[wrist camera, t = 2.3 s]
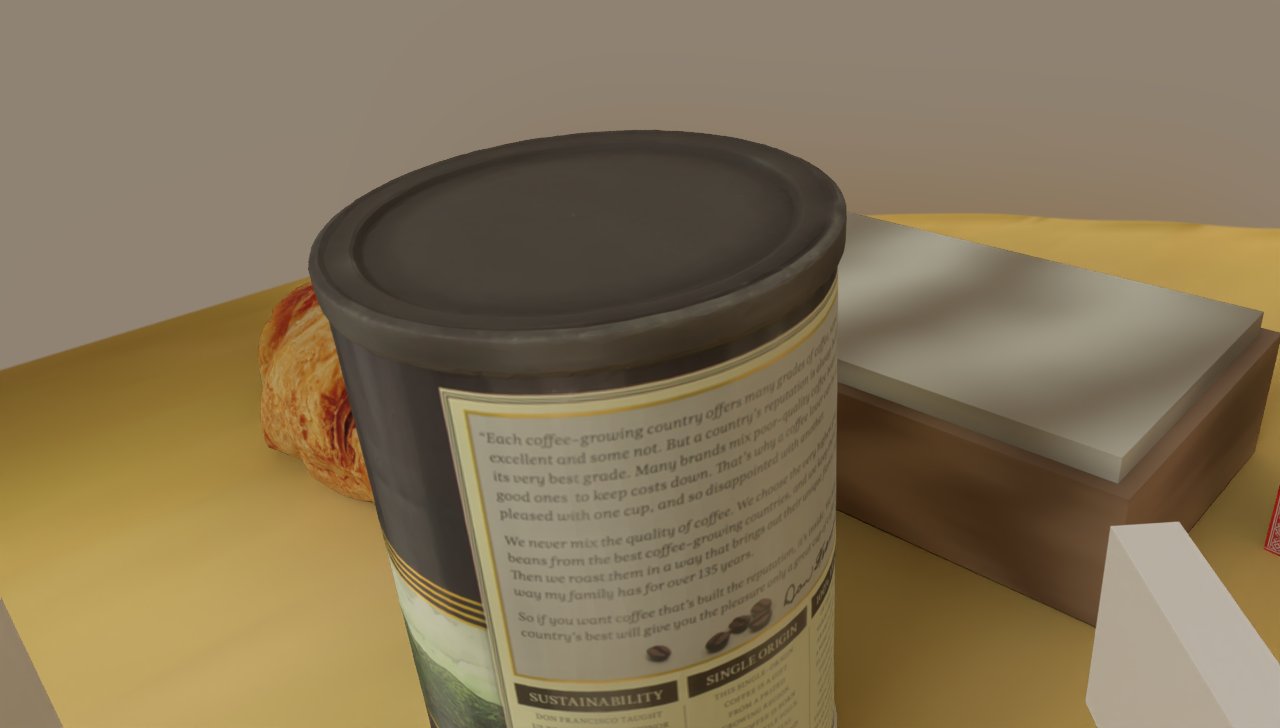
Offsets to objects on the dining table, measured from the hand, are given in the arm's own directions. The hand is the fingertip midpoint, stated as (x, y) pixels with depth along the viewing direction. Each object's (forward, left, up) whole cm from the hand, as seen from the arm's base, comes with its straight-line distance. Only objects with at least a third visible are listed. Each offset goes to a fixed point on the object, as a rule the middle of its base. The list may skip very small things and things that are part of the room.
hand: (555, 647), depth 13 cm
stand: (-9, +23, -12) cm, 28 cm away
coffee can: (-7, +7, -12) cm, 16 cm away
